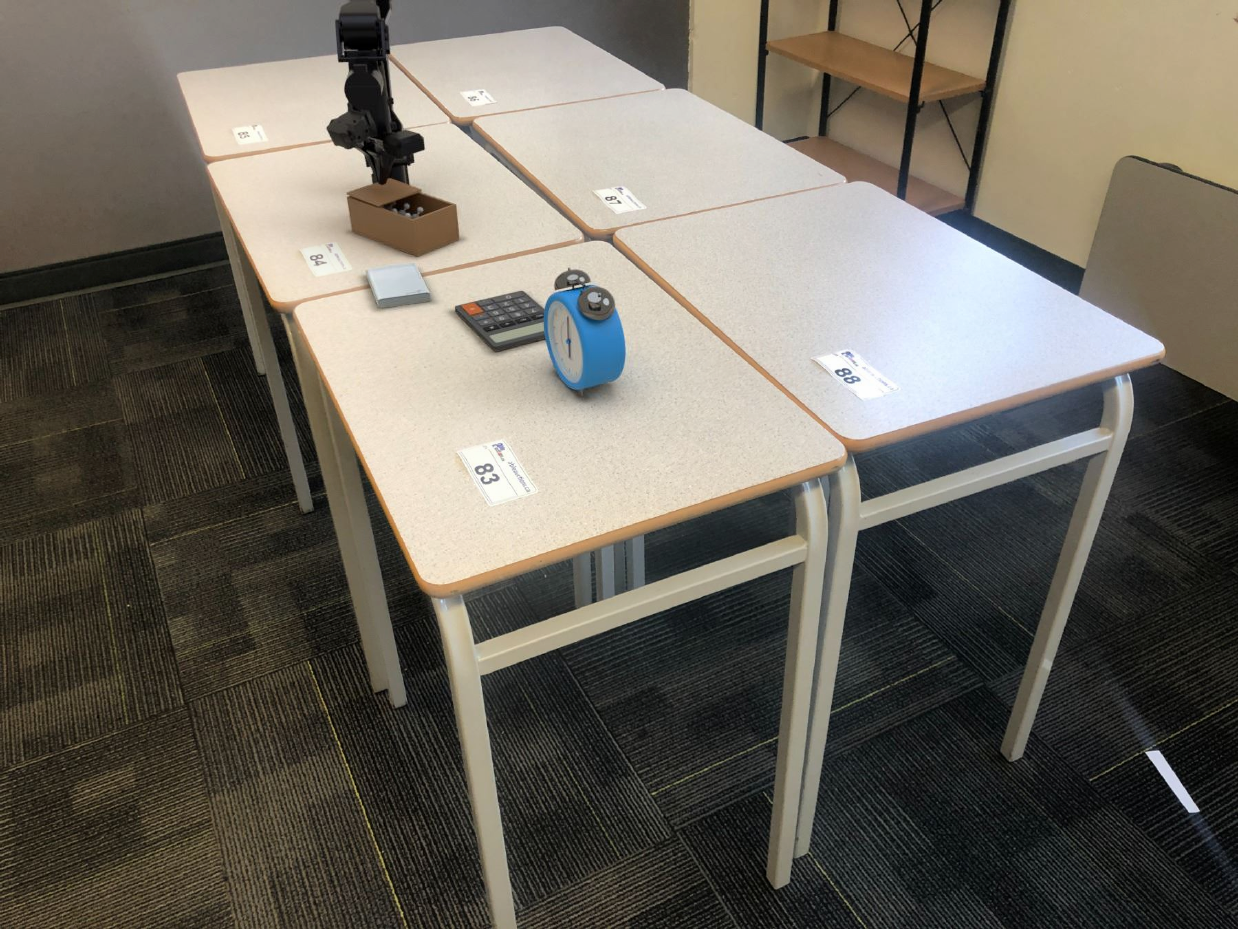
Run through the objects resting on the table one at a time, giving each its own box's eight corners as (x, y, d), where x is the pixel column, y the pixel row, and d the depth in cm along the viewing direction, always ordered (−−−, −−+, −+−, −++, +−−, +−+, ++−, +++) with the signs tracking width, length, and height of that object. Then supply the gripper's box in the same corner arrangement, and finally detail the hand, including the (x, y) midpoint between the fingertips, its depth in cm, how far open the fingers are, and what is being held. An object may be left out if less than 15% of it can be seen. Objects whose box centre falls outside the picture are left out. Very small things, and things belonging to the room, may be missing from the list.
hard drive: (430, 291, 148) (415, 260, 158) (377, 299, 146) (364, 267, 155) (431, 301, 149) (416, 270, 159) (378, 309, 147) (366, 276, 156)
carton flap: (346, 194, 168) (346, 192, 168) (390, 180, 174) (389, 177, 174) (378, 206, 164) (378, 204, 163) (421, 191, 170) (421, 189, 170)
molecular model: (441, 238, 168) (438, 211, 166) (422, 245, 166) (419, 218, 163) (392, 219, 176) (389, 193, 173) (374, 225, 173) (370, 199, 170)
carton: (352, 231, 172) (346, 196, 168) (394, 216, 178) (390, 182, 175) (417, 256, 163) (412, 220, 159) (459, 239, 170) (456, 204, 166)
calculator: (522, 289, 151) (566, 327, 140) (522, 294, 151) (566, 332, 141) (453, 305, 146) (494, 345, 135) (454, 310, 146) (494, 351, 136)
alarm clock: (543, 365, 133) (539, 265, 124) (583, 355, 136) (581, 256, 127) (586, 409, 124) (585, 304, 115) (627, 397, 126) (629, 294, 118)
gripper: (295, 92, 158) (311, 184, 168) (368, 113, 149) (382, 209, 158) (348, 79, 166) (361, 168, 175) (421, 98, 156) (431, 191, 166)
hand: (382, 184), depth 168 cm, fingers closed
